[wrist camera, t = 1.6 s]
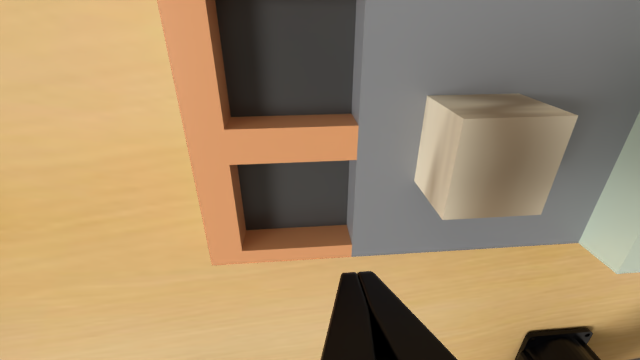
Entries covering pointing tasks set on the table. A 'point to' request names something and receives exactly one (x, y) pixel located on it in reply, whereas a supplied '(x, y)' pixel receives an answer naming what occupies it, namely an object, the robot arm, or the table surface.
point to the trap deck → (397, 120)
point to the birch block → (490, 154)
